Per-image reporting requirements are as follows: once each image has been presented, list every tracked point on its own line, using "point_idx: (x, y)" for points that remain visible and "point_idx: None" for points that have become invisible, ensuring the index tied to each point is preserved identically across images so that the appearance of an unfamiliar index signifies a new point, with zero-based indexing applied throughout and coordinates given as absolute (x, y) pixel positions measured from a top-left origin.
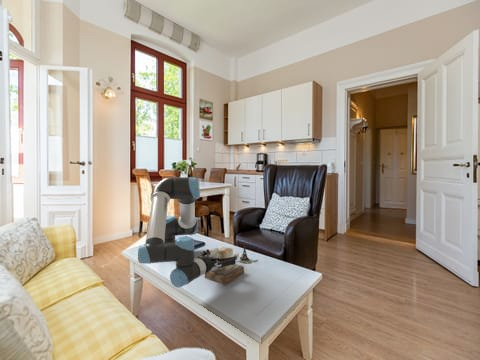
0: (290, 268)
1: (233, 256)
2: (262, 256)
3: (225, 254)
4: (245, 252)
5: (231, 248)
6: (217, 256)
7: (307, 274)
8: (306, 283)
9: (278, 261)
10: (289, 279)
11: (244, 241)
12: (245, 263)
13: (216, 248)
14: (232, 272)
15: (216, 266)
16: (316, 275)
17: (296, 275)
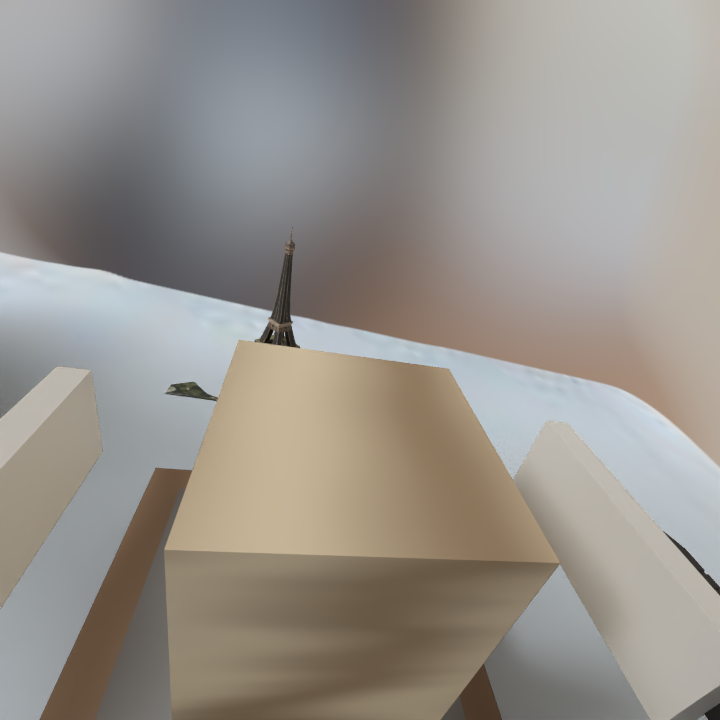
0: (530, 384)
1: (691, 589)
2: (341, 330)
3: (509, 606)
4: (288, 327)
5: (425, 366)
6: (198, 674)
7: (618, 404)
8: (713, 472)
9: (438, 350)
10: (644, 472)
11: (289, 246)
12: None
13: (59, 409)
14: (471, 707)
15: (134, 703)
16: (639, 401)
17: (610, 426)
